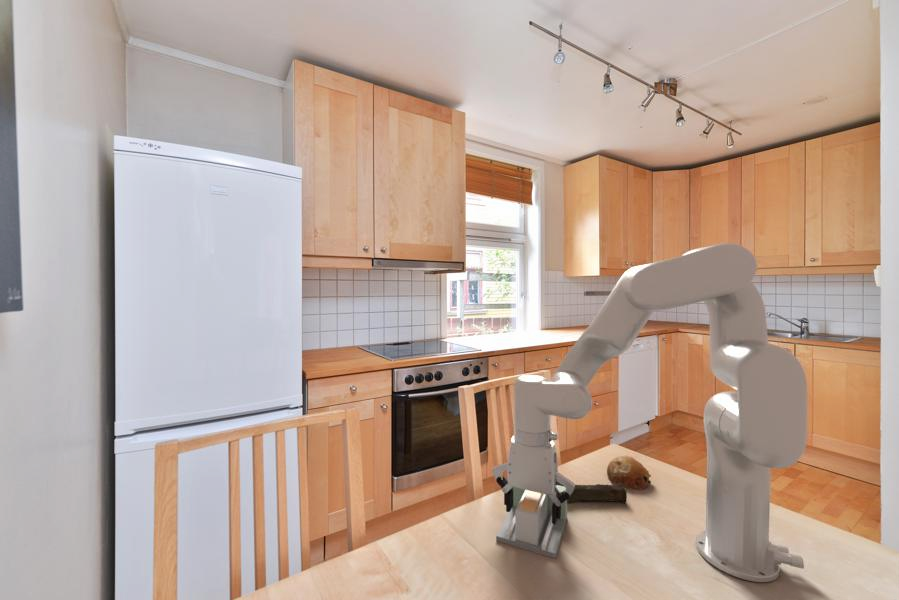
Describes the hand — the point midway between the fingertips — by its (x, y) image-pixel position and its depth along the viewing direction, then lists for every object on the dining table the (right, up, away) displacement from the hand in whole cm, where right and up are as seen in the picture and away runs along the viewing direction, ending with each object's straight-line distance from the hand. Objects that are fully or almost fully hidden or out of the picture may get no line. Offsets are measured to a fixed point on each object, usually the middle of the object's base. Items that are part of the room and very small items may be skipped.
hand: (531, 514), depth 79 cm
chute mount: (+1, -4, +1) cm, 4 cm away
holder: (0, -3, 0) cm, 3 cm away
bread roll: (+31, -3, +21) cm, 37 cm away
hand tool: (+16, -4, +11) cm, 20 cm away
